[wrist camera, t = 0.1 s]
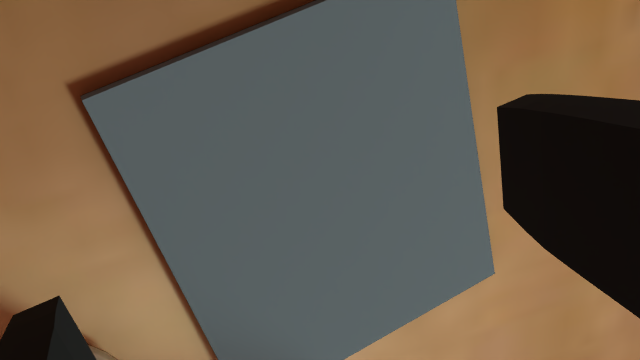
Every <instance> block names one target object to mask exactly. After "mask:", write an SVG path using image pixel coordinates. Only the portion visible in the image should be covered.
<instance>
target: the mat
mask: <svg viewBox="0 0 640 360" xmlns="http://www.w3.org/2000/svg"><path fill="white" fill-rule="evenodd" d="M81 99H82V102H83V104H84V106H85V107H86V109H87V111H88V113H89V115H90V117H91V119H92V121H93V123H94V125H95V126H96V128H97V130H98V132H99V134H100V136H101V138H102V140H103V142H104V144H105V145H106V147H107V149H108V151H109V153H110V155H111V157H112V159H113V161H114V163H115V164H116V166H117V168H118V170H119V172H120V174H121V176H122V178H123V180H124V182H125V183H126V185H127V187H128V189H129V191H130V193H131V195H132V197H133V199H134V201H135V202H136V204H137V206H138V208H139V210H140V212H141V214H142V216H143V218H144V220H145V221H146V223H147V225H148V227H149V229H150V231H151V233H152V235H153V237H154V239H155V240H156V242H157V244H158V246H159V248H160V250H161V252H162V254H163V256H164V258H165V260H166V261H167V263H168V265H169V267H170V269H171V271H172V273H173V275H174V277H175V279H176V280H177V282H178V284H179V286H180V288H181V290H182V292H183V294H184V296H185V298H186V299H187V301H188V303H189V305H190V307H191V309H192V311H193V313H194V315H195V317H196V318H197V320H198V322H199V324H200V326H201V328H202V330H203V332H204V334H205V336H206V337H207V339H208V341H209V343H210V345H211V347H212V349H213V351H214V353H215V355H216V356H217V358H218V360H344V359H346V358H347V357H349V356H351V355H353V354H354V353H356V352H358V351H360V350H361V349H363V348H365V347H367V346H368V345H370V344H372V343H374V342H375V341H377V340H379V339H381V338H382V337H384V336H386V335H388V334H389V333H391V332H393V331H395V330H396V329H398V328H400V327H402V326H403V325H405V324H407V323H409V322H411V321H412V320H414V319H416V318H418V317H419V316H421V315H423V314H425V313H426V312H428V311H430V310H432V309H433V308H435V307H437V306H439V305H440V304H442V303H444V302H446V301H447V300H449V299H451V298H453V297H454V296H456V295H458V294H460V293H461V292H463V291H465V290H467V289H468V288H470V287H472V286H474V285H475V284H477V283H479V282H481V281H482V280H484V279H486V278H488V277H489V276H491V275H493V274H495V272H494V265H493V258H492V251H491V244H490V237H489V230H488V223H487V216H486V209H485V202H484V195H483V188H482V181H481V174H480V167H479V160H478V153H477V146H476V139H475V132H474V125H473V118H472V111H471V103H470V96H469V89H468V82H467V75H466V68H465V61H464V54H463V47H462V40H461V33H460V26H459V19H458V12H457V5H456V0H315V1H313V2H311V3H308V4H306V5H303V6H301V7H298V8H296V9H293V10H291V11H288V12H286V13H284V14H281V15H279V16H276V17H274V18H271V19H269V20H266V21H264V22H261V23H259V24H257V25H254V26H252V27H249V28H247V29H244V30H242V31H239V32H237V33H234V34H232V35H230V36H227V37H225V38H222V39H220V40H217V41H215V42H212V43H210V44H207V45H205V46H203V47H200V48H198V49H195V50H193V51H190V52H188V53H185V54H183V55H180V56H178V57H176V58H173V59H171V60H168V61H166V62H163V63H161V64H158V65H156V66H153V67H151V68H149V69H146V70H144V71H141V72H139V73H136V74H134V75H131V76H129V77H126V78H124V79H122V80H119V81H117V82H114V83H112V84H109V85H107V86H104V87H102V88H99V89H97V90H95V91H92V92H90V93H87V94H85V95H82V96H81Z"/></svg>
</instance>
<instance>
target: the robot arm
mask: <svg viewBox="0 0 640 360" xmlns="http://www.w3.org/2000/svg"><path fill="white" fill-rule="evenodd" d="M497 115H498V130H499V145H500V161H501V176H502V191H503V206H504V209H505V211H506V212H507V213H508V214H509V215H510V216H511V217H512V218H513V219H514V220H515V221H516V222H517V223H518V224H519V225H520V226H521V227H522V228H523V229H524V230H525V231H526V232H527V233H528V234H529V235H530V236H532V237H533V238H534V239H535V240H536V241H537V242H538V243H539V244H540V245H541V246H542V247H543V248H544V249H546V250H547V251H548V252H550V253H551V254H552V255H554V256H555V257H556V258H557V259H559V260H560V261H562V262H563V263H564V264H566V265H567V266H568V267H570V268H571V269H572V270H574V271H575V272H576V273H578V274H579V275H580V276H582V277H583V278H585V279H586V280H587V281H589V282H590V283H591V284H593V285H594V286H596V287H597V288H598V289H600V290H601V291H603V292H604V293H605V294H607V295H608V296H609V297H611V298H612V299H614V300H615V301H616V302H618V303H619V304H621V305H622V306H623V307H625V308H626V309H627V310H629V311H630V312H632V313H633V314H634V315H636V316H637V317H638V318H640V101H639V100H627V99H615V98H604V97H592V96H577V95H560V94H527V95H525V96H522V97H520V98H518V99H515V100H513V101H511V102H508V103H506V104H504V105H501V106H499V107H497ZM0 360H96V358H95V356H94V354H93V353H92V351H91V349H90V348H89V346H88V344H87V342H86V341H85V339H84V337H83V335H82V334H81V332H80V330H79V329H78V327H77V325H76V323H75V322H74V320H73V318H72V317H71V315H70V313H69V311H68V310H67V308H66V306H65V305H64V303H63V301H62V299H61V298H60V296H57V297H55V298H53V299H50V300H48V301H46V302H43V303H41V304H39V305H36V306H34V307H32V308H29V309H27V310H25V311H22V312H20V313H18V314H15V315H13V317H12V319H11V321H10V322H9V324H8V326H7V328H6V330H5V332H4V334H3V336H2V338H1V340H0Z"/></svg>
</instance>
